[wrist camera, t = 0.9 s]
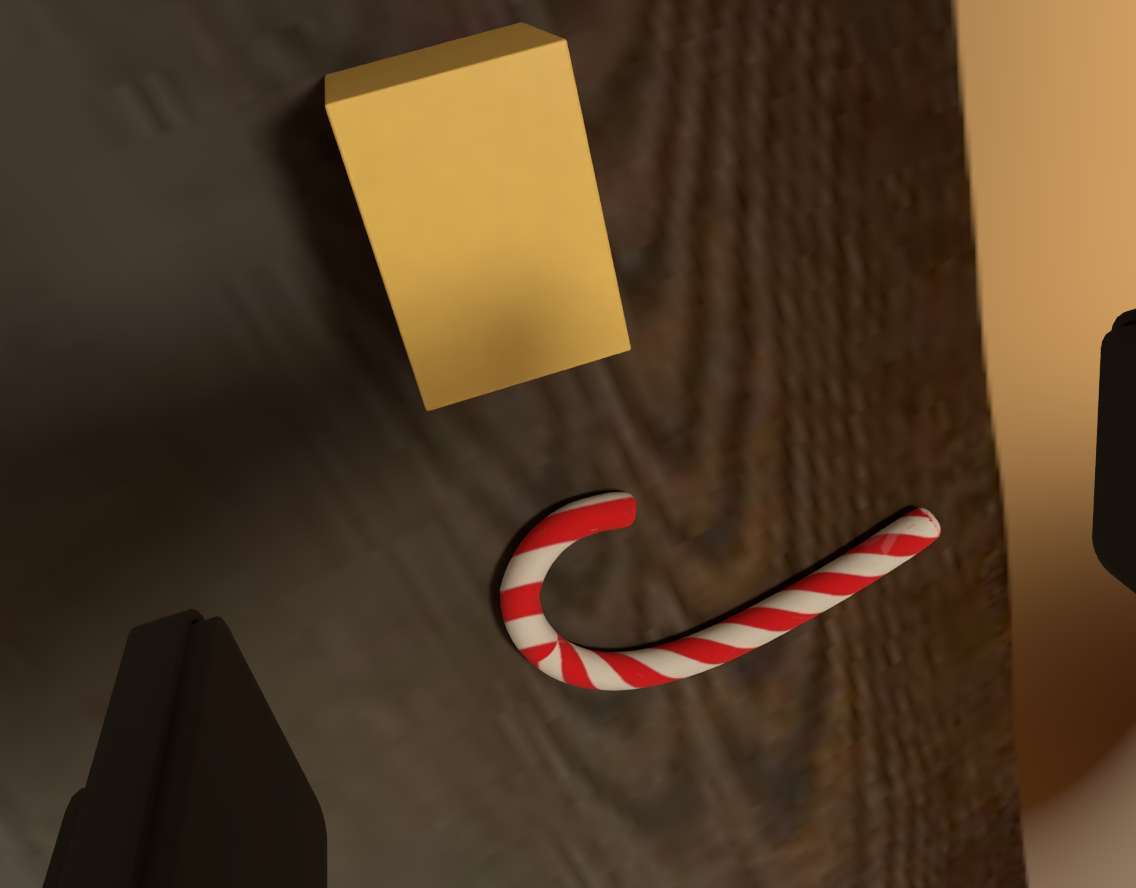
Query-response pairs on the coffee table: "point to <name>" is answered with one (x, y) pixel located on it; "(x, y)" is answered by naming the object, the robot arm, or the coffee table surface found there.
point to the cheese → (481, 209)
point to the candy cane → (697, 648)
